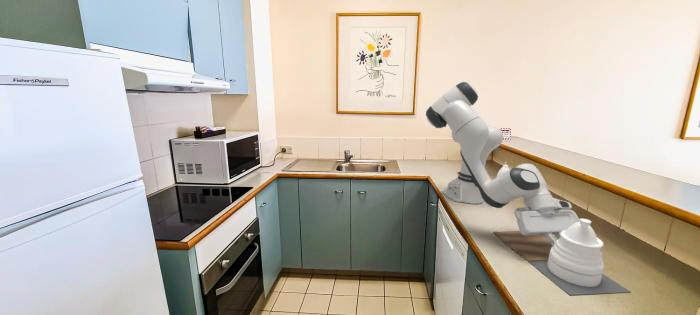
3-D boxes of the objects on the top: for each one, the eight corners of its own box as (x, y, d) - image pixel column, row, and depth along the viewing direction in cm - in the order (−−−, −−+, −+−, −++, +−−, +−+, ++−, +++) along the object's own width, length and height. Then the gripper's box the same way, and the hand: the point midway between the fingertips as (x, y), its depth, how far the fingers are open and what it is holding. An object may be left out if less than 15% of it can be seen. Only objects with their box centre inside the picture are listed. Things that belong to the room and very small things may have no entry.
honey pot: (604, 293, 78) (619, 233, 73) (547, 276, 84) (558, 220, 80) (596, 269, 88) (609, 215, 84) (546, 255, 95) (556, 205, 91)
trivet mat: (528, 262, 92) (528, 261, 92) (580, 259, 94) (580, 259, 94) (569, 295, 77) (569, 295, 77) (630, 292, 78) (630, 291, 78)
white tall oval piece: (498, 188, 167) (501, 158, 163) (512, 191, 161) (516, 160, 157) (492, 191, 162) (495, 160, 158) (506, 194, 156) (510, 162, 152)
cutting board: (493, 233, 112) (493, 231, 112) (536, 231, 113) (536, 230, 113) (528, 262, 92) (528, 260, 92) (580, 259, 94) (580, 258, 94)
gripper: (517, 204, 95) (534, 245, 87) (574, 202, 97) (596, 243, 89) (508, 211, 100) (522, 251, 93) (562, 210, 102) (581, 249, 94)
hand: (559, 247), depth 91 cm, fingers closed, pressing on honey pot
